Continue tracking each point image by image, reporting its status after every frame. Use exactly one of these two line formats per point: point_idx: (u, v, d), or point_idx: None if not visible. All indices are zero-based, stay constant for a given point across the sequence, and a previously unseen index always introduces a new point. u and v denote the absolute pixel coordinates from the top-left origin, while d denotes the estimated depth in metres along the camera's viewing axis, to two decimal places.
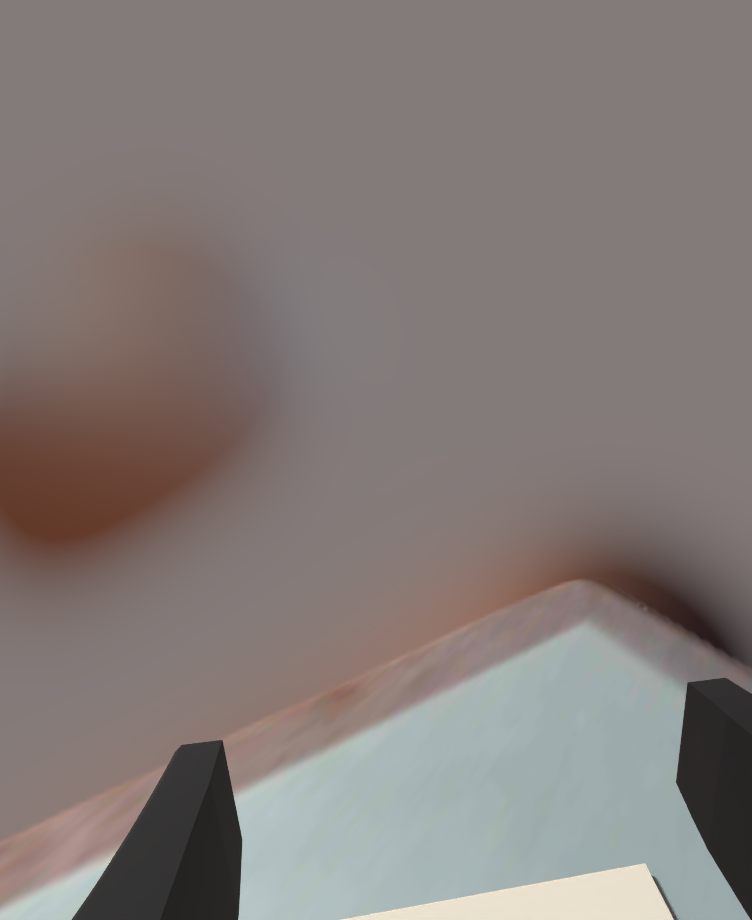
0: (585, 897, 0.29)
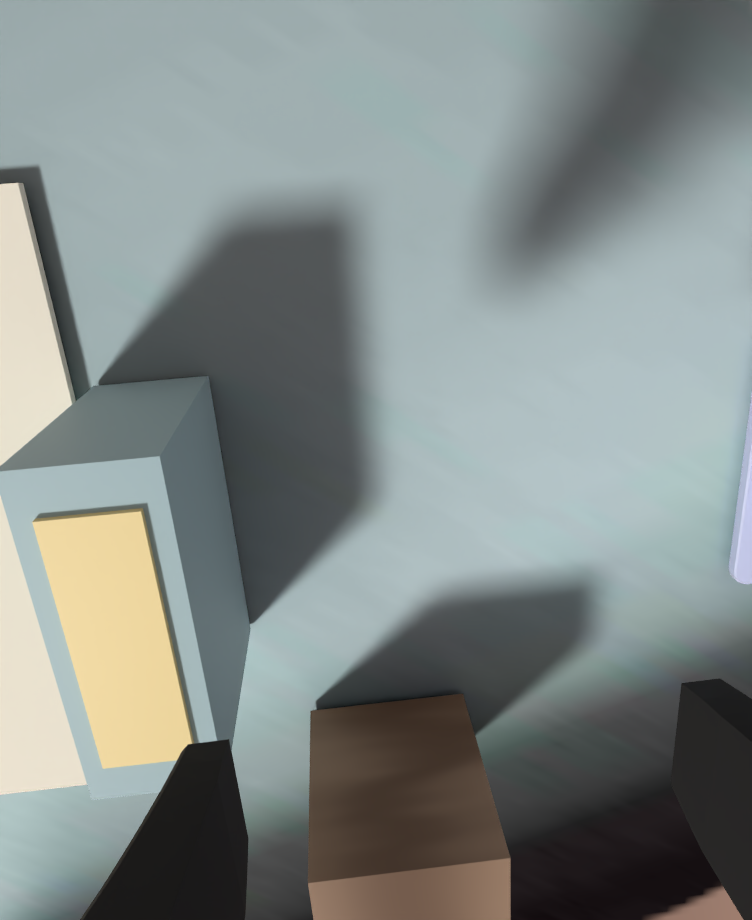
0: None
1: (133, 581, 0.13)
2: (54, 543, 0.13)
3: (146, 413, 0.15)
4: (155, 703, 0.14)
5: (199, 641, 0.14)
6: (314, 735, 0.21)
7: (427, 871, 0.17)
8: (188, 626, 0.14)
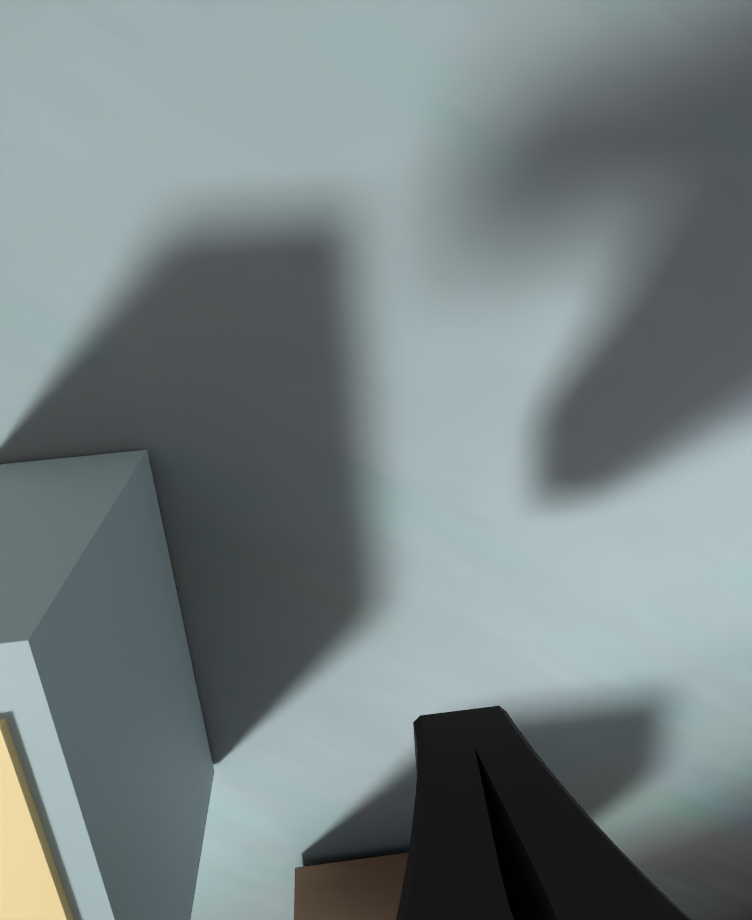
0: None
1: None
2: None
3: (38, 528, 0.10)
4: None
5: (115, 895, 0.09)
6: (299, 910, 0.16)
7: None
8: (94, 882, 0.09)
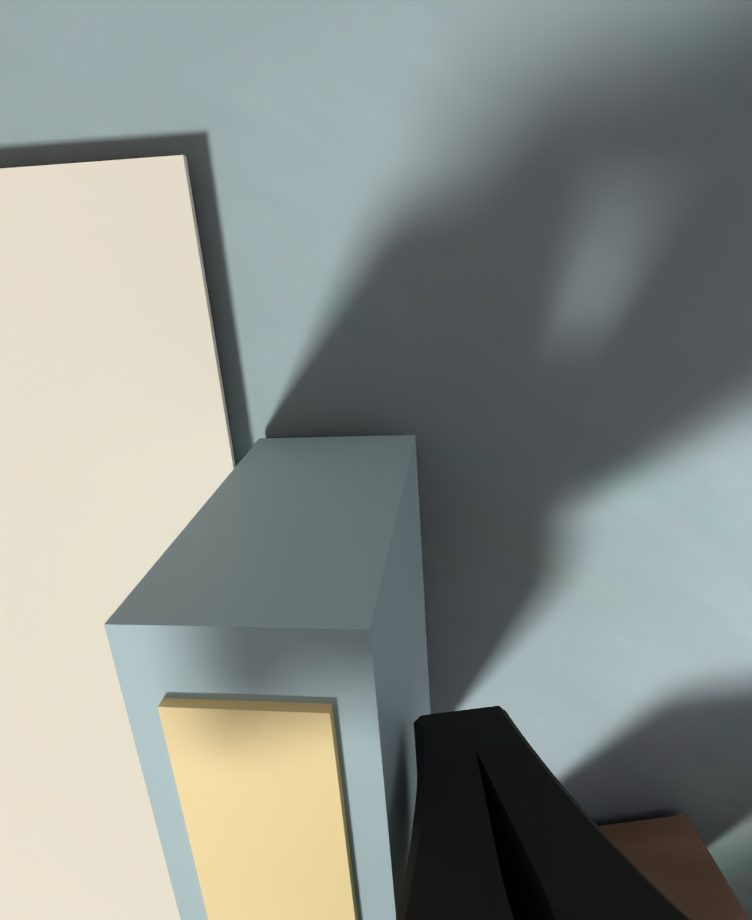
0: None
1: (306, 810, 0.08)
2: (188, 741, 0.08)
3: (335, 508, 0.10)
4: None
5: (397, 893, 0.09)
6: None
7: None
8: (384, 878, 0.09)
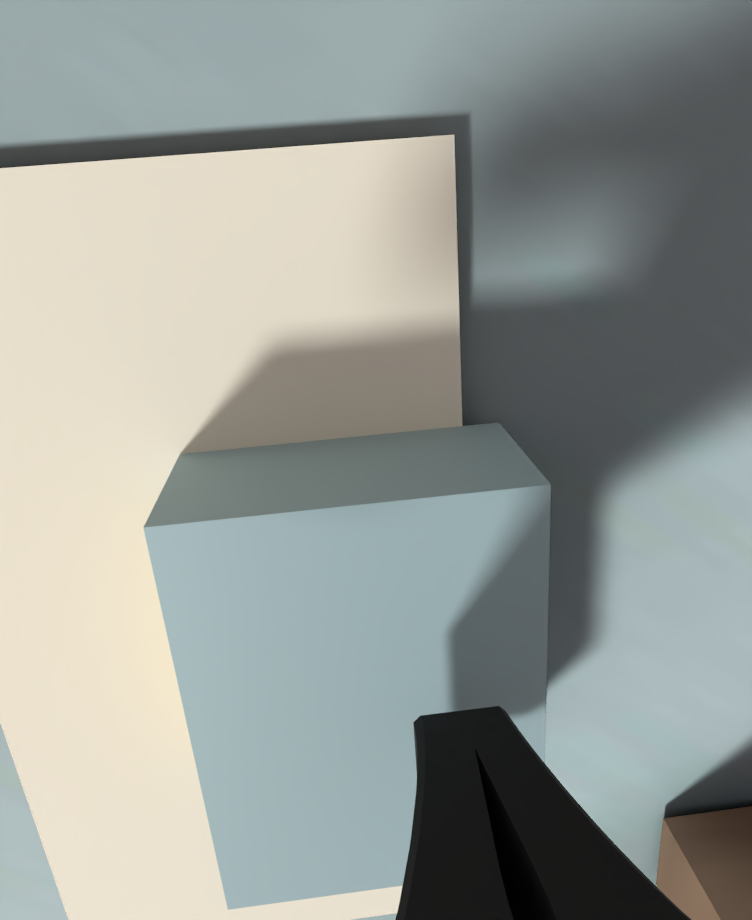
0: None
1: None
2: None
3: (342, 482, 0.11)
4: None
5: (207, 754, 0.11)
6: (690, 856, 0.17)
7: None
8: (189, 725, 0.11)
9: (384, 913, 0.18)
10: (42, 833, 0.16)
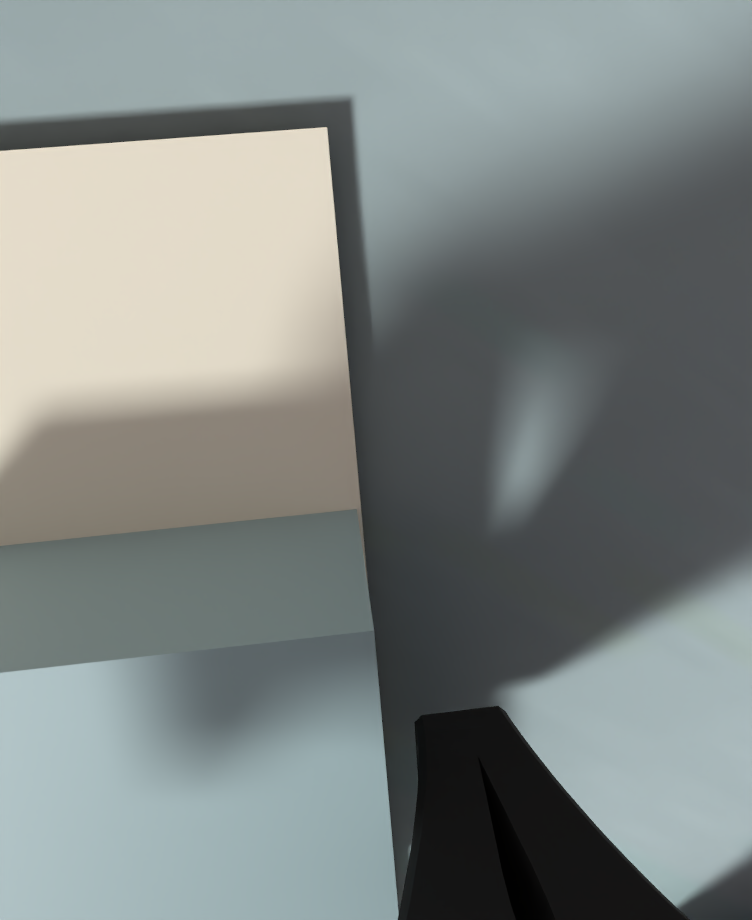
0: None
1: None
2: None
3: (101, 613, 0.08)
4: None
5: None
6: None
7: None
8: None
9: None
10: None
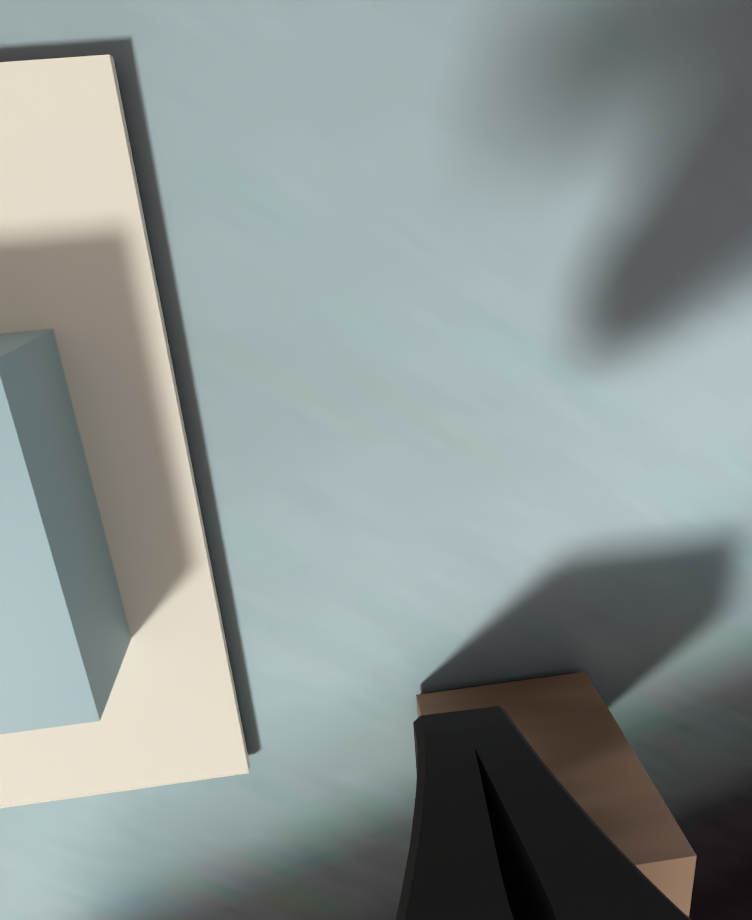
0: None
1: None
2: None
3: None
4: None
5: None
6: None
7: None
8: None
9: (164, 783, 0.20)
10: None
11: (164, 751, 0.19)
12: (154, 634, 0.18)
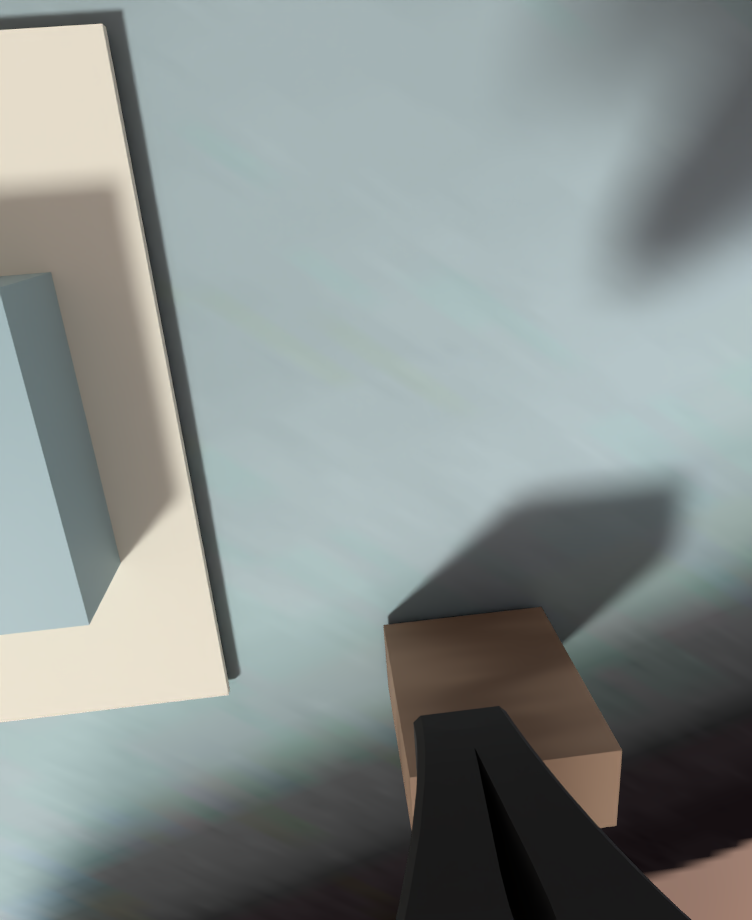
0: None
1: None
2: None
3: None
4: None
5: None
6: (391, 646, 0.20)
7: None
8: None
9: (151, 703, 0.21)
10: None
11: (151, 672, 0.21)
12: (141, 560, 0.19)
